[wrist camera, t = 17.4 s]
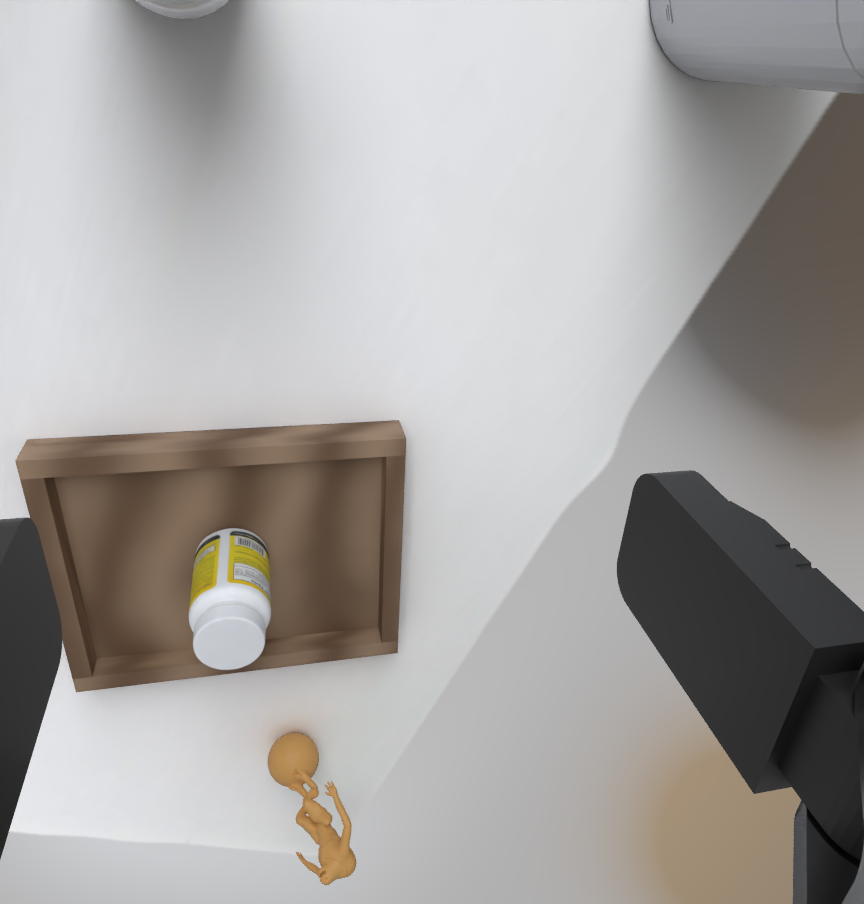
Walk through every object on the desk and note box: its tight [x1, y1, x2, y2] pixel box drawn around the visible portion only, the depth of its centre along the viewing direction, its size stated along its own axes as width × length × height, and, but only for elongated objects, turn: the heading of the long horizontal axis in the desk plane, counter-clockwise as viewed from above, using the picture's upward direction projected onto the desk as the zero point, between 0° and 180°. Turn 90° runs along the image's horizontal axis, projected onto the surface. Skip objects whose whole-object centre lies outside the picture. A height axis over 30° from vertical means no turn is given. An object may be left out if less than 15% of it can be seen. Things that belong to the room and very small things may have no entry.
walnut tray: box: [16, 420, 406, 692], centre depth 48 cm, size 22×18×2 cm
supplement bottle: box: [189, 528, 271, 670], centre depth 44 cm, size 5×5×8 cm
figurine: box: [268, 733, 356, 885], centre depth 54 cm, size 8×6×12 cm
